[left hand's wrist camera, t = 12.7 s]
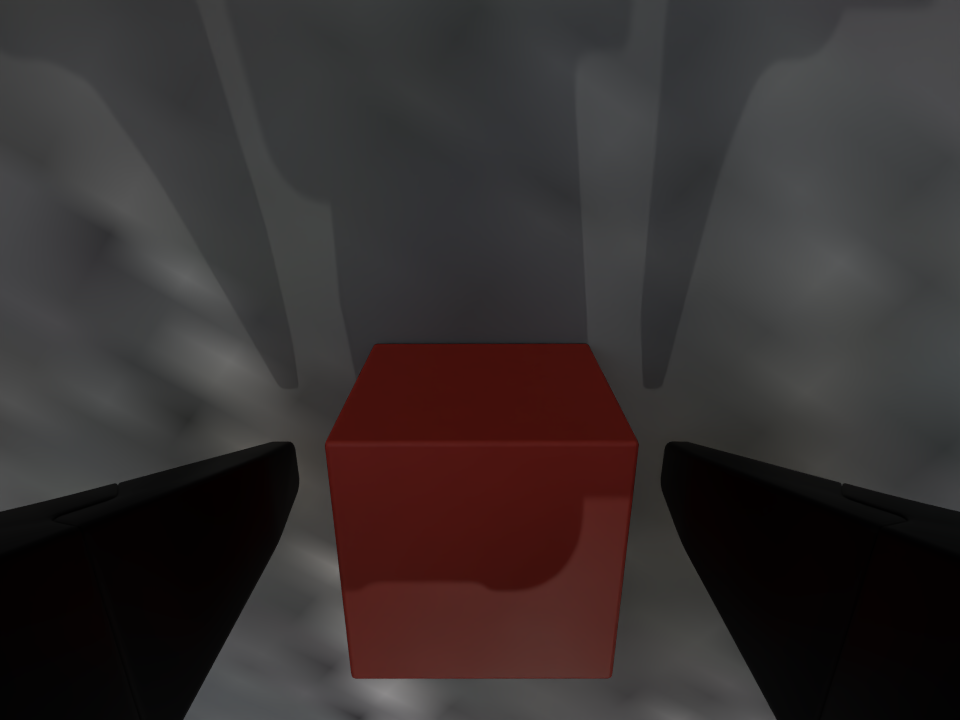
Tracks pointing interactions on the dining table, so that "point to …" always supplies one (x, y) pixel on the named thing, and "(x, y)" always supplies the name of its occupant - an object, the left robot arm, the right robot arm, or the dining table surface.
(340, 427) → the block
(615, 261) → the dining table surface
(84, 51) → the dining table surface
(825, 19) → the dining table surface
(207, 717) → the dining table surface
